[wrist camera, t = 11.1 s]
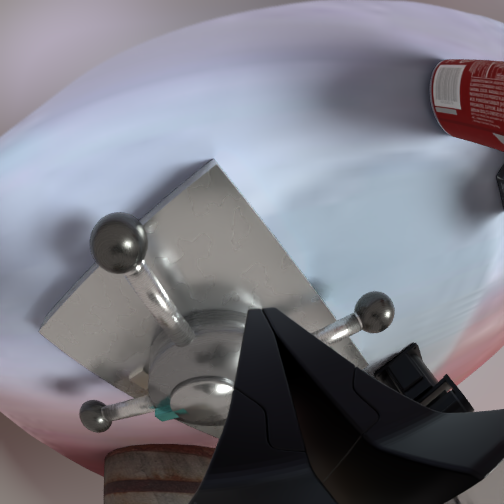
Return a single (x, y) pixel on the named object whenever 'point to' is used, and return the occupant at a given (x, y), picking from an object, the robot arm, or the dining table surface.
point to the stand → (186, 283)
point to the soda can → (470, 100)
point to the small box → (501, 182)
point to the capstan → (192, 338)
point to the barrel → (155, 473)
